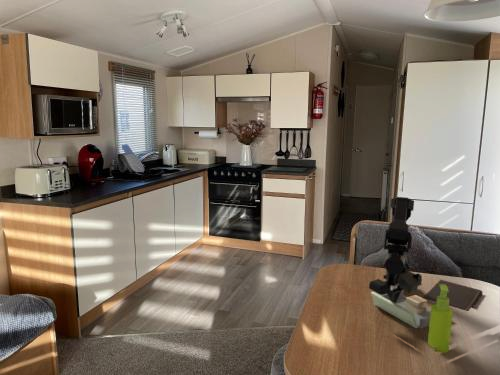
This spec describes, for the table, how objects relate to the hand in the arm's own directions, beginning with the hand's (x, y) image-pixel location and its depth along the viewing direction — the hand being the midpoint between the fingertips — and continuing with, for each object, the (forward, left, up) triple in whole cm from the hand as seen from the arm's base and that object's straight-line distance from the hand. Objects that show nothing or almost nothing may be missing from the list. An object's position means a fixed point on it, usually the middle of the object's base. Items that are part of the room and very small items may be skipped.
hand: (393, 305), depth 132 cm
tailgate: (-2, 0, -5) cm, 6 cm away
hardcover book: (-36, -2, -7) cm, 37 cm away
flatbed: (-9, 0, -6) cm, 11 cm away
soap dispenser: (0, +18, -6) cm, 19 cm away
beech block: (-12, 0, -4) cm, 13 cm away
